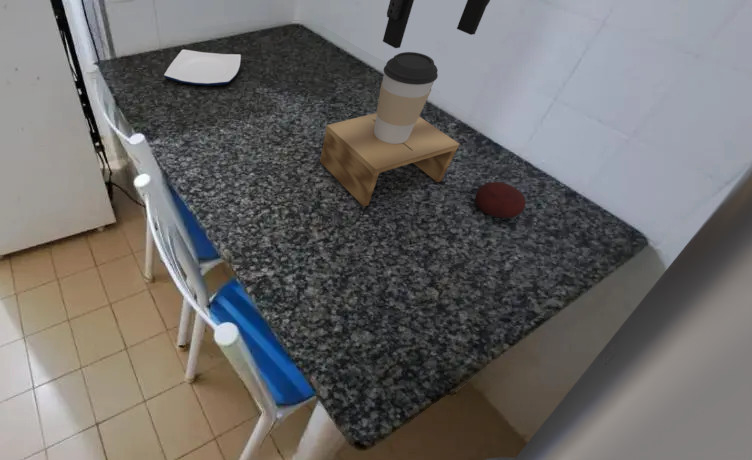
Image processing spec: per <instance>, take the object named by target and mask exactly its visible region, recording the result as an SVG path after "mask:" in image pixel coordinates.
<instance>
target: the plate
mask: <svg viewBox="0 0 752 460" xmlns="http://www.w3.org/2000/svg"><path fill="white" fill-rule="evenodd" d="M241 61H242V54H240V53H239V54H238V53H237V54H235V53H216V52H215V53H214V52H205V51H198V50H197V51H196V50H191V49H181V50H180V52H179V53H178V54H177V55H176V57H175V58H174V59H173V60H172V62H171V63H170V64H169V66H168V67H167V69H166V71H165V72H164V74H163V76H164V77H165V78H166V79H167V80H170V81H173V82H178V83H181V84H186V85H194V86H207V87H211V86H227V85H228V84H229V83H231V82H232V81H233V80H234V79H235V78H236V76H237V75H238V73H239V71H240V69H241Z"/></svg>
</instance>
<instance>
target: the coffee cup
mask: <svg viewBox="0 0 752 460" xmlns="http://www.w3.org/2000/svg"><path fill="white" fill-rule="evenodd" d="M437 67H438V66H436V64H435V61H434V59H433V58H432V57H430V56H429V55H427V54H424V53H420V52H415V51H404V52H399V53H397V54H395V55H394V56H393V57H391V58H390V59H389V60H388V61H386V64H385V66H384V67H383V78H382V80H381V82H380V89H379V94H378V101H377V107H376V113H377V116H376V122H375V127H374V135H375V136H376V137H377V138H378V139H379V140H381V141H383V142H386V143H391V144H400V143H403V142H406V141H407V140H408V138H409V136H410V134H411V132H412V129H413V127H414V125H415V123H416V121H417V120H418V118H419V117H421V113H422V111H423V110H424V107H425V105H426V102H427V101H428V99H429V96H430V94H431V92H432V87H433V85H434V83H435V82H436V80H437V79H438V77H439V73H438V68H437Z"/></svg>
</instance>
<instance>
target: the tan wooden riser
mask: <svg viewBox="0 0 752 460" xmlns="http://www.w3.org/2000/svg"><path fill="white" fill-rule="evenodd" d="M376 116H377V112H374V113H369V114H366V115H362V116H358V117H354V118H350V119H346V120H342V121H339V122H333V123H329V124H327V125H326V127H325V132H324V139H323V143H322V149H321V154H320V159H319V163H320V164H321V165H322V166H323V167H324V168H325V169H326V170H327V171H328V172H329V173H330V174H331V175H332V176H333V177H334V178H335V179H336V180H337V182H339V184H341V185H342V187H344V189H345V190H347V191H348V193H349V194H350V195H351V196H352V197H353V198H354V199H355V200H356V201H357V202H358V203H359V204H360V205H361V206H362V207H363V208H364V207H368V206H369V205H370V202H371V199H372V196H373V193H374V190H375V187H376V184H377V181H378V177H379V175H380V173H383V172H387V171H390V170H391V171H392V170H393V169H397V168H401V167H404V166H406V165H410V164H414V165H415V166H416V167H417V168H418V169H420V170H421V171H422V172H423V173H425V174H426V175H427V176H428V177H429V178H431V179H432V180H433V181H435V182H436V183H441V182H442V181H443V179H444V177H445V174H446V173H447V171H448V169H449V167H450V165H451V162H452V160H453V159H454V156H455V154H456V152H457V150H458V149H459V146H460V143H459V142H458V141H456V140H454V139H453V138H451V137H450V136H449V135H447V134H446V133H444V132H443V131H442V130H440V129H439V128H437V127H436V126H434V125H433V124H431V123H430V122H428V121H427V120H425V119H424V118H422V117H421V116H419V118H418V120H417V121H416V123H415V125H414V127H413V129H412V132H411V134H410V136H409V138H408V140H407V141H406V142H403V143H400V144H391V143H386V142H383V141H381V140H379V139H378V138H377V137H376V136H375V135H374V127H375V122H376Z"/></svg>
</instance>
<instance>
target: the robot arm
mask: <svg viewBox="0 0 752 460" xmlns="http://www.w3.org/2000/svg"><path fill="white" fill-rule="evenodd" d="M414 1H415V0H389V3H388V7H387V11H386V17H387V18H388V19H387V23H386V27H385V30H384V34H383V39H382V42H383V43H384V44H386V45H388V46H390V47H392V48H394V49H400V48H401V46H402V42H403V39H404V36H405V32H406V29H407V24H408V22H409V20H410V19H409V18H410V16H411V12H412V8H413V5H414ZM490 2H491V0H467V1H466V3H465V6H464V9H463V11H462V13H461V17H460V19H459V22H458V23H457V27H456V30H458V31H461V32H464V33H466V34H468V35H471V36H472V35H473V36H474V35H476V32H477V31H478V28H479V26H480V22H481V20H482V18H483V15H484V13H485V11H486V9H487V6H488V5H489V3H490ZM484 460H752V163H751V164H750V165H749V166H748V167H747V169H746V170H745V171H744V172H743V173H742V175H741V176H740V177H739V178H738V180H737V181H736V182H735V184H733V186H732V188H731V189H730V190H729V191H728V192H727V194H726V195H725V196H724V198H723V199H722V200H721V201H720V202H719V204H718V205H717V206H716V207H715V209H713V211H712V212H711V214H710V215H709V216H708V217H707V219H706V220H705V221H704V222H703V223H702V224H701V226H700V227H699V228H698V229H697V231H696V232H695V233H694V235H693V236H692V237H691V239H690V240H689V241H688V242H687V243H686V245H684V247H683V248H682V250H680V252H679V253H678V255H677V256H676V257H675V258H674V259H673V260H672V261H671V263H670V265H668V267H667V268H666V269H665V271H664V272H663V273H662V274H661V276H660V277H659V278H658V280H657V281H656V282H655V283H654V284H653V286H652V287H651V288H650V290H649V291H648V292H647V293H646V295H645V296H644V297H643V298H642V300H641V301H640V302H639V303H638V304H637V305H636V307H635V308H634V309H633V311H632V312H631V313H630V314H629V316H628V317H627V318H626V320H625V321H624V322H623V323H622V325H620V327H619V328H618V330H617V331H616V332H615V333H614V335H613V336H612V337H611V338H610V340H609V341H608V342H607V343H606V344H605V345H604V346H603V348H602V350H601V351H600V352H599V353H598V354H597V356H595V358H594V359H593V361H592V362H591V363H590V364H589V366H587V368H586V370H585V371H584V372H583V373H582V374H581V375H580V376H579V378H578V379H577V381H576V382H575V383H574V384H573V385H572V387H571V388H570V389H569V391H568V392H567V393H566V394H565V395H564V397H563V398H562V399H561V401H560V402H559V403H558V404H557V405H556V406H555V408H554V409H553V411H552V412H551V413H550V414H549V416H548V417H547V418H546V419H545V420H544V421H543V423H542V424H541V426H540V427H539V428H538V429H537V431H535V433H534V434H533V436H532V437H531V438H530V439H529V440H528V442H527V443H526V444H525V445H524V447H523V448H522V449H521V450H520V451H519V453H518V454H517V455H516V456H515V457H512V456H511V457H509V456H498V457H489V458H484Z"/></svg>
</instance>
